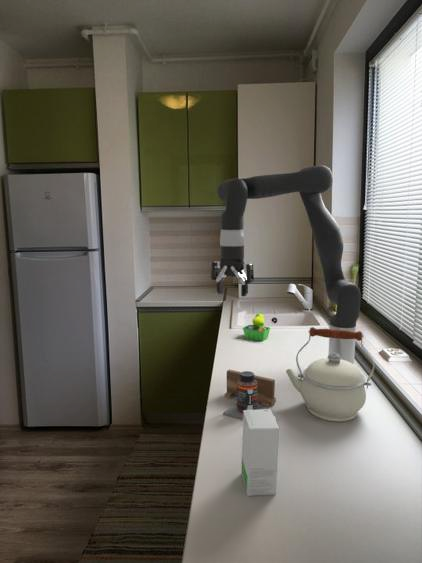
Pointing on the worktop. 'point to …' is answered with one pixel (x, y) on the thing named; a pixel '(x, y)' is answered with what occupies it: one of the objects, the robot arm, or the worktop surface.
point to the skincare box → (260, 452)
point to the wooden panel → (263, 388)
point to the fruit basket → (257, 329)
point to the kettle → (332, 381)
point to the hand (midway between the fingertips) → (232, 294)
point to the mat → (235, 413)
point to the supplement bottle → (246, 392)
